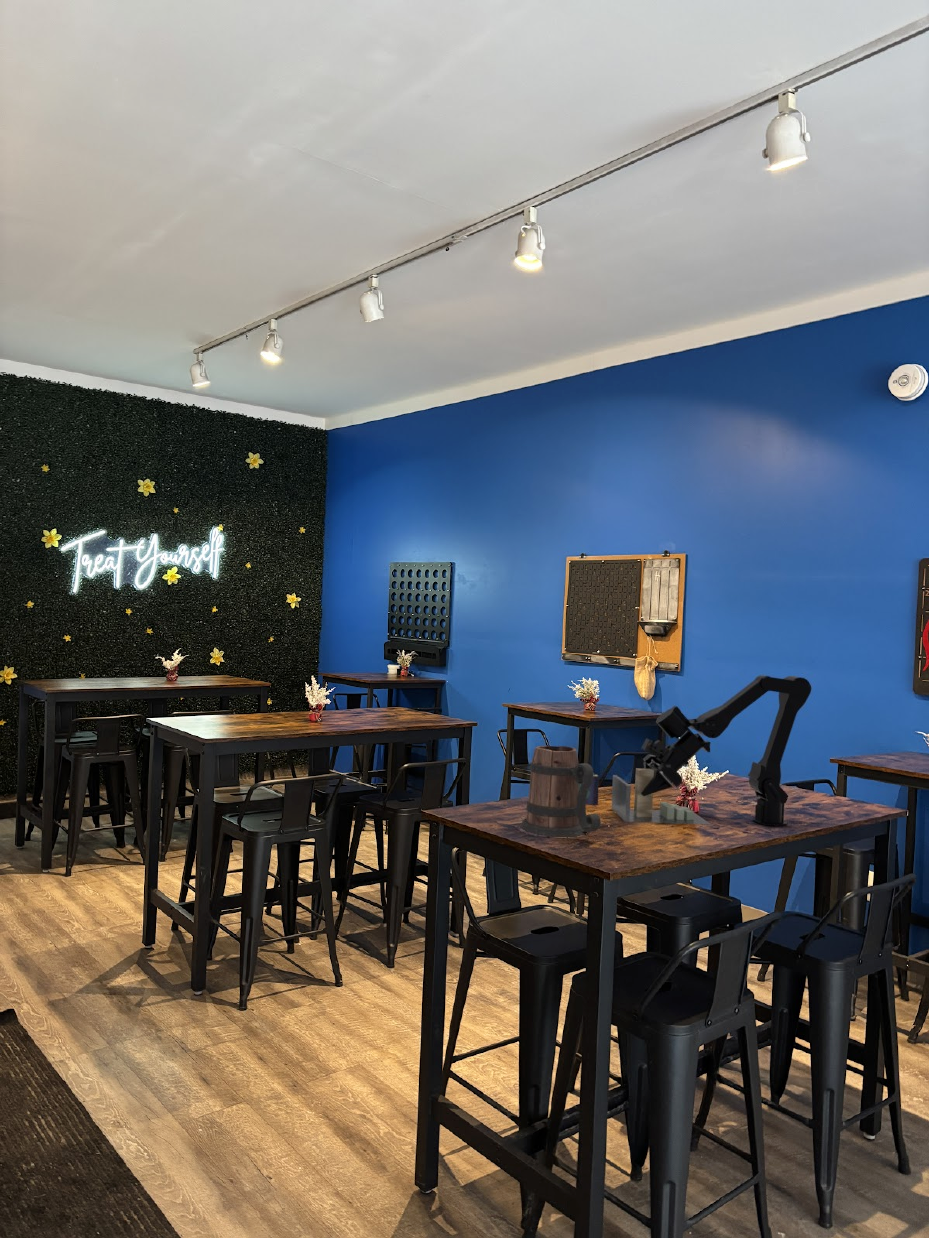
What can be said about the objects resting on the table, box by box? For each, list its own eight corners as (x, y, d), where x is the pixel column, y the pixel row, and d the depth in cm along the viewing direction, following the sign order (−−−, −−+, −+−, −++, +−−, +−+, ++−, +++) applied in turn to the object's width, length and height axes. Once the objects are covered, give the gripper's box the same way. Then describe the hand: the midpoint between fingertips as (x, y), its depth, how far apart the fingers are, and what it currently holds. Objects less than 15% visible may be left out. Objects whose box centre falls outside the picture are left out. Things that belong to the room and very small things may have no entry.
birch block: (648, 814, 243) (650, 768, 243) (651, 817, 240) (653, 770, 240) (633, 814, 243) (635, 768, 243) (636, 816, 240) (638, 770, 240)
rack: (691, 814, 251) (693, 777, 251) (711, 828, 235) (712, 788, 235) (611, 812, 249) (612, 775, 249) (625, 825, 233) (626, 785, 233)
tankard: (503, 826, 226) (506, 744, 226) (554, 820, 236) (558, 741, 236) (569, 848, 207) (573, 758, 207) (622, 840, 217) (626, 754, 217)
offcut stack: (685, 814, 246) (686, 802, 246) (693, 820, 239) (694, 808, 239) (659, 813, 245) (660, 802, 245) (667, 819, 238) (667, 807, 238)
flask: (563, 804, 257) (565, 766, 257) (567, 803, 259) (569, 764, 259) (596, 809, 253) (598, 769, 253) (599, 807, 255) (601, 768, 255)
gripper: (652, 724, 251) (610, 763, 251) (671, 733, 233) (626, 775, 232) (679, 754, 252) (637, 794, 251) (701, 765, 233) (655, 808, 232)
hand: (638, 792), depth 242 cm, fingers open, 7 cm apart
